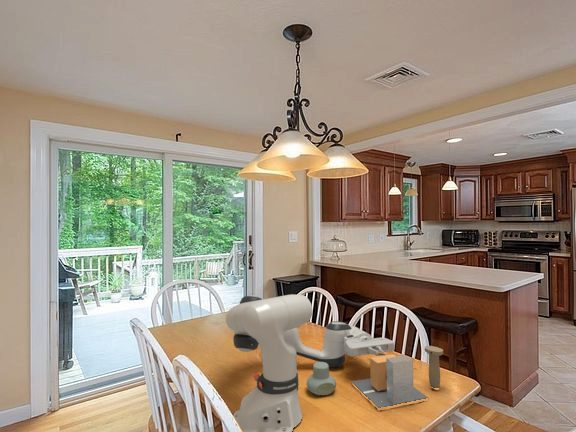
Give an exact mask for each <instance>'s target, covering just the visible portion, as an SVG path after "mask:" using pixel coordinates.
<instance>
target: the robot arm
mask: <svg viewBox="0 0 576 432" xmlns="http://www.w3.org/2000/svg"><path fill="white" fill-rule="evenodd" d="M312 316H313V306H312V302H311V301H310V299H309V298H308V297H307V296H305V295H304V294H292V293H291V294H286V295H281V296H280V295H279V296H275V297H269V298H262V297H259V296H257V295H254V294H252V295H250V294H249V295H246V296H243V297H241V299H240V300H239V304H237V305H234V306H233V307H231V308H230V309H229V310H228V311H227V313H226V316H225V323H226V326H227V327H228V328H229V330H231V331H233V337H232V339H233V346H234V347H235V348H236V349H237V350H238V351H241V352H244V353H245V352H246V353H249V352H252V351H255V350H257V349H258V347H260V351H261V356H262V358H261V359H262V373H261V374H259V373H258V372H255V373H253V376H252V377H253V380H254V381H255V382H256V386H255V387H254V388H253V389H252V390H250V391H249V392H248V393H247V394H246V395H245V396H243V398H241V399H242V400H241V402H240V406H239V409H238V410H235V412H234V414H233V415H232V417H233V416H234V418H235V419H236V421H237V422H238V424H239V425H240V427H241V429H242V430H243V432H292V431H293V428H294V426H295V425H297V424H298V423H299V422H300V421H301V419H302V420H303V418H302V417H303V413H302V410H301V405H300V401H299V392H298V391H299V386H300V385H299V383H300V382H299V379H300V378H299V373H298V372H297V370H298V369H297V365H298V364H297V360H298V359H297V356H299V357H303V358H306V359H309V360H312V361H315V362H325V363H327V364H328V365H329V367H332V368H339V367H341V366H342V365H343V364H344V363H345V361H346V355H347V356H349V357H361V356H366V355H367V356H368V355H373V356H375V357H378V356H383V354H384V353H388V352H394V351H395V342H394V340H391V339H389V338H386V337H376V338H373V336H372V335H371V334H369V333H368V332H366V331H364V330H363V329H362V330H361V329H360V328H359V327H357V326H355V325H351V324H348V323H347V322H344V321H339V320H336V321H335V320H334V321H330V322H329V323H328V324H326V326H325V328H324V336H323V347H322V349H321V350H319V349H315V348H312V347H309V346H306V345H305V344H303V343H302V341H301V338H300V333H299V329H298V328H299V327H302V326H303V325H305V324H307V323H308V322H309V321H310V320H311V319H312ZM301 422H302V421H301ZM293 432H294V431H293Z"/></svg>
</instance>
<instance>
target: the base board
mask: <svg viewBox="0 0 576 432" xmlns="http://www.w3.org/2000/svg"><path fill="white" fill-rule="evenodd" d="M351 383H353V384H354V385H355V386H356V387H357V388H358V389H359V390H360V391H361V392H362V393H363V394H364V395H365V396H366V397H368V399H369V400H371V401H372V402H373V403H374V404H375V405H376V406H377V407H378V408H381V407H387V406H393V405H394V404H393V403H392V402H390V401H389V400H388V399H387V389H386V390H380V391H377V390H376V389H375V388H374V387H373V386H372V385H371V381H370V378H365V379H357V380H352V381H350V384H351ZM426 398H428V399H429V397H428V396H427V395H425V394H424V393H422V392H421V391H420V390H418V389H417V388H416V387H414V401H416V400H421V399H426ZM381 401H382V402H381ZM409 402H411V401H409ZM404 403H407V402H404ZM400 404H401V403H400ZM395 405H397V404H395Z"/></svg>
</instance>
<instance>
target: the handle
mask: <svg viewBox="0 0 576 432" xmlns="http://www.w3.org/2000/svg"><path fill="white" fill-rule="evenodd" d="M424 352H425V353H426V354H428V356H429V357H428V381H429V387H430V386H431V387H433V388H439V387H441V386H440V384H441V369H440V367H441V366H440V356H442V355H444V349H443V348H440V347H438V346H433V345H425V346H424Z"/></svg>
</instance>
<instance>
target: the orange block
mask: <svg viewBox="0 0 576 432" xmlns="http://www.w3.org/2000/svg"><path fill="white" fill-rule="evenodd" d="M392 357H398V356H396V355H395V354H393V353H392V354H385V355H384V356H383V355H379V356H373V357H369V364H370V366H369V367H370V369H369V371H370V372H369V373H370V381H371V385H372V386H373V387H374V388H375V389H376V390H377V391H380V390H386V389H387V377H386V371H387V370H386V358H392Z"/></svg>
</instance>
